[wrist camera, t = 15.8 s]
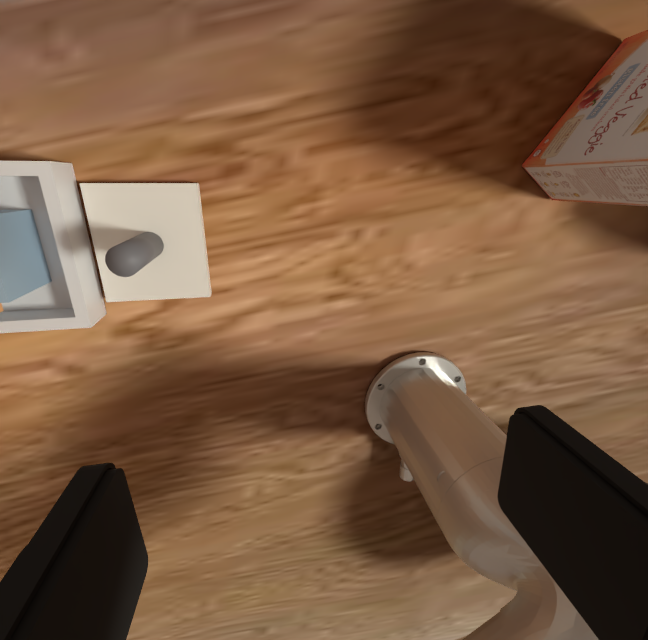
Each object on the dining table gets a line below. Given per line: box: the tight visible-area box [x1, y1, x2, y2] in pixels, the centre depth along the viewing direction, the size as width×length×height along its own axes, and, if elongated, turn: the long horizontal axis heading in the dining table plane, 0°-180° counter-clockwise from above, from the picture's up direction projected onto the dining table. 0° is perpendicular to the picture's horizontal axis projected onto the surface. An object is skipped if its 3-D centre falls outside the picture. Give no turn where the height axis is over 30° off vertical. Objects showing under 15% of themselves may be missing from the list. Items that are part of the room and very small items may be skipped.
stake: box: [80, 183, 212, 302], centre depth 29 cm, size 10×9×8 cm
